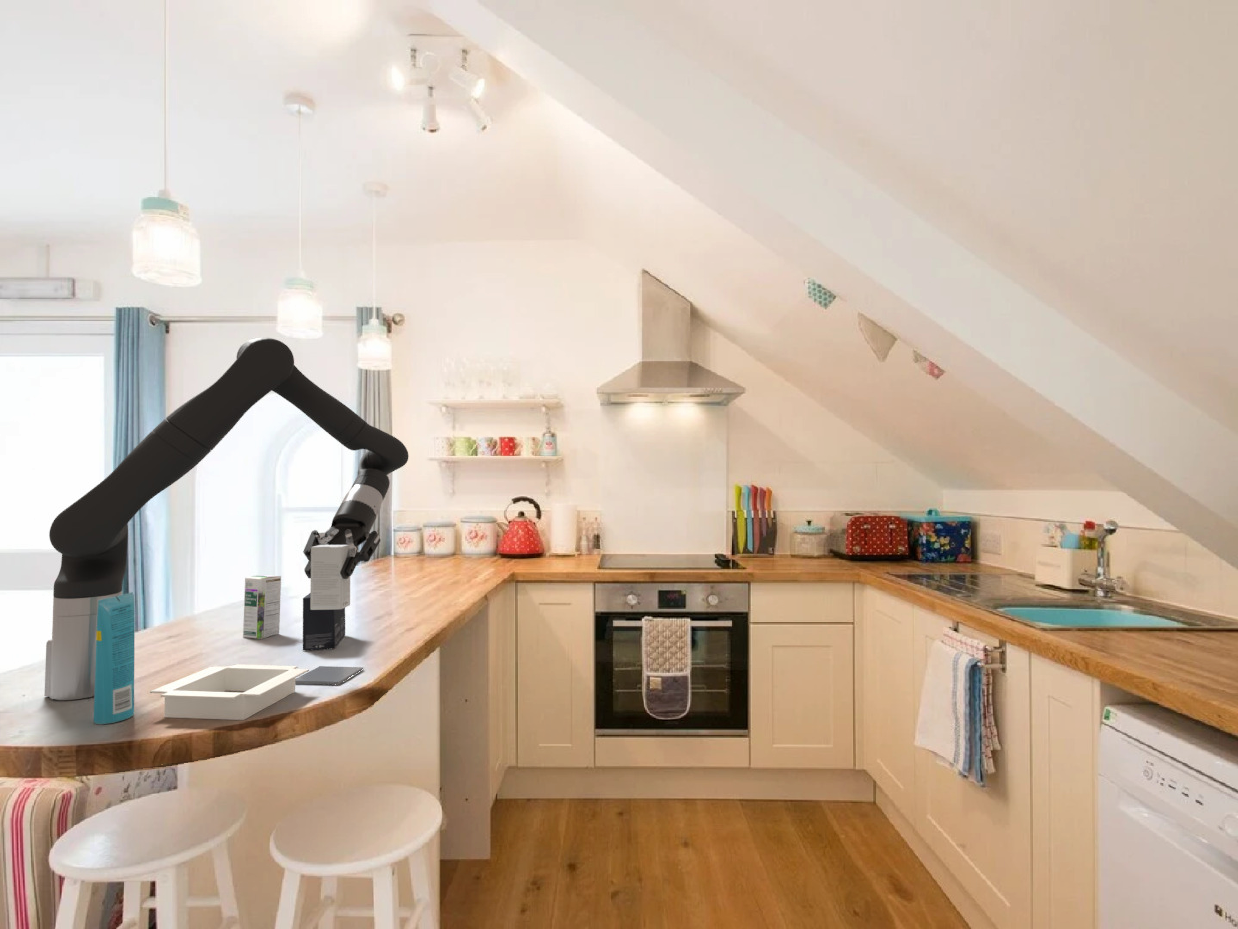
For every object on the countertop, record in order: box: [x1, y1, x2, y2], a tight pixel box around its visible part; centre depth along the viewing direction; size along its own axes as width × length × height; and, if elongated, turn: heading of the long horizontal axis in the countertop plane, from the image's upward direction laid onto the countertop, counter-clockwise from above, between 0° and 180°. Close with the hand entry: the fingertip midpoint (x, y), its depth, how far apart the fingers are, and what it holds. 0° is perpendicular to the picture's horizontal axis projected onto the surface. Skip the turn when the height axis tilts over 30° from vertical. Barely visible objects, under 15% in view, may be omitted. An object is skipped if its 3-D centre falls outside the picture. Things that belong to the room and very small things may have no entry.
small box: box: [302, 592, 346, 651], centre depth 141 cm, size 13×7×12 cm, turn 15°
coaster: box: [295, 665, 364, 686], centre depth 116 cm, size 9×9×1 cm
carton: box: [149, 664, 310, 721], centre depth 102 cm, size 18×16×4 cm
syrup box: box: [242, 574, 282, 640], centre depth 148 cm, size 6×6×14 cm
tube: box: [93, 591, 136, 725], centre depth 95 cm, size 7×5×19 cm, turn 11°
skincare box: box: [309, 545, 351, 610], centre depth 117 cm, size 6×4×12 cm
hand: (326, 576), depth 115 cm, fingers closed on skincare box, 6 cm apart
